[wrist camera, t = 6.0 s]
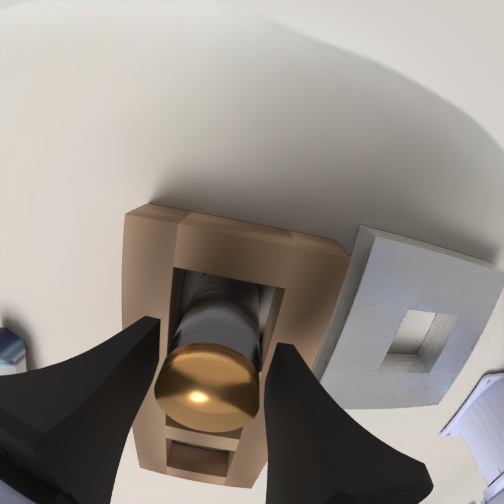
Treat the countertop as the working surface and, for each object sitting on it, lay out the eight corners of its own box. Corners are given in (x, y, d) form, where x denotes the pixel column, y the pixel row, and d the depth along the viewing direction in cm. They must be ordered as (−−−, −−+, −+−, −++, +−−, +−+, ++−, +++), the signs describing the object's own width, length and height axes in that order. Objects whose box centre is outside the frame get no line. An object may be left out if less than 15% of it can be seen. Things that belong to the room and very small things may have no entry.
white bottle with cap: (12, 374, 13) (40, 499, 17) (56, 335, 19) (57, 467, 23) (-32, 336, 12) (8, 477, 16) (14, 306, 19) (27, 448, 23)
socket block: (488, 262, 13) (508, 273, 12) (427, 386, 17) (438, 404, 15) (359, 224, 13) (375, 236, 11) (303, 384, 16) (307, 407, 14)
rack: (335, 240, 13) (351, 258, 11) (251, 465, 20) (251, 488, 17) (147, 203, 13) (125, 213, 10) (147, 445, 19) (140, 467, 17)
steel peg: (264, 275, 14) (270, 375, 7) (252, 329, 15) (248, 438, 8) (199, 262, 14) (153, 352, 7) (192, 318, 15) (154, 420, 8)
